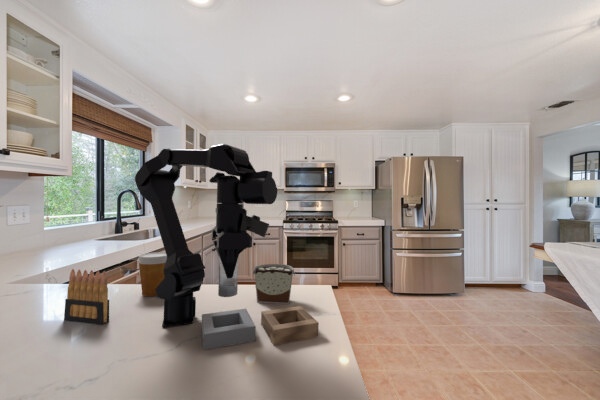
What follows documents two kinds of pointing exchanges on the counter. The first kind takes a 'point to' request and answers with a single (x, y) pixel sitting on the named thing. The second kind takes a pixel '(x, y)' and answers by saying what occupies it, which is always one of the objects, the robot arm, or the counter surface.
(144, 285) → the disposable coffee cup
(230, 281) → the pin
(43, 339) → the counter surface
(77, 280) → the ammunition clip
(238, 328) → the socket block
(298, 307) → the block
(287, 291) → the food container
